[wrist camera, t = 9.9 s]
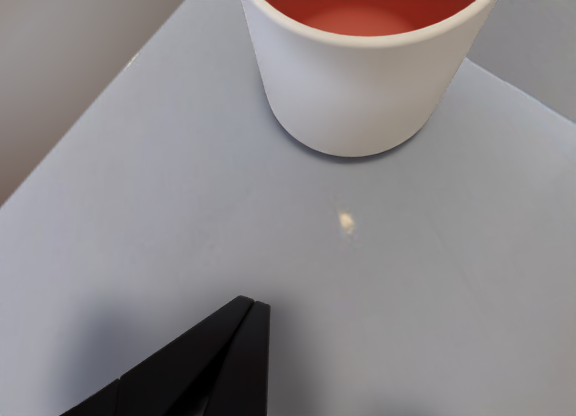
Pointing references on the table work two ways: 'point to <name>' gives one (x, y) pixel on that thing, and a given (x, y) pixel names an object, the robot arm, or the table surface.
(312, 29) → the cup
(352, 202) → the table surface
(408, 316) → the table surface
